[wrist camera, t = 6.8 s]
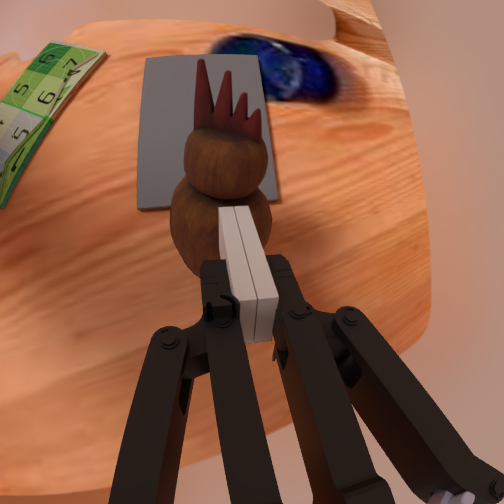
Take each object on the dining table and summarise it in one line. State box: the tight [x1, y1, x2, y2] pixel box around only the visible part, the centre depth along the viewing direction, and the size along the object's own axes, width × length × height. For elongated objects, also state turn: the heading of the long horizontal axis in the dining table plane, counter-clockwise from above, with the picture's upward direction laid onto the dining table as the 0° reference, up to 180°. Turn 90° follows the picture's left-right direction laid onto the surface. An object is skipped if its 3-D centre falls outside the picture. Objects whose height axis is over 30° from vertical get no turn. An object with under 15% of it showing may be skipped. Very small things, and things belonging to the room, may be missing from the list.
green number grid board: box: [0, 41, 107, 209], centre depth 23 cm, size 20×1×10 cm
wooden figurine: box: [170, 59, 272, 278], centre depth 18 cm, size 7×6×15 cm
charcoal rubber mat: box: [137, 54, 278, 210], centre depth 26 cm, size 17×12×1 cm
